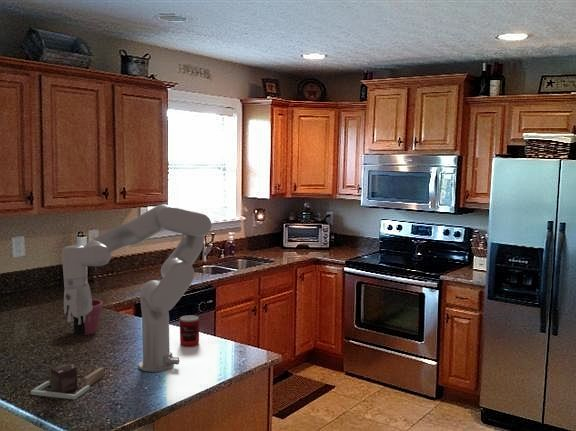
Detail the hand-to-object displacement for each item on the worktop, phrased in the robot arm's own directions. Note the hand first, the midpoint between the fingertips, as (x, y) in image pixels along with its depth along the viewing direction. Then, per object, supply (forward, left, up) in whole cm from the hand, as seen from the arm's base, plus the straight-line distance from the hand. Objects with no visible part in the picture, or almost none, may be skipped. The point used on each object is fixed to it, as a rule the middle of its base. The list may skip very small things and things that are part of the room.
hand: (79, 334), depth 194 cm
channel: (0, 0, -16) cm, 16 cm away
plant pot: (+28, -48, -16) cm, 58 cm away
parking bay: (0, +10, -16) cm, 19 cm away
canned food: (-22, -44, -16) cm, 51 cm away
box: (+1, +9, -16) cm, 18 cm away
